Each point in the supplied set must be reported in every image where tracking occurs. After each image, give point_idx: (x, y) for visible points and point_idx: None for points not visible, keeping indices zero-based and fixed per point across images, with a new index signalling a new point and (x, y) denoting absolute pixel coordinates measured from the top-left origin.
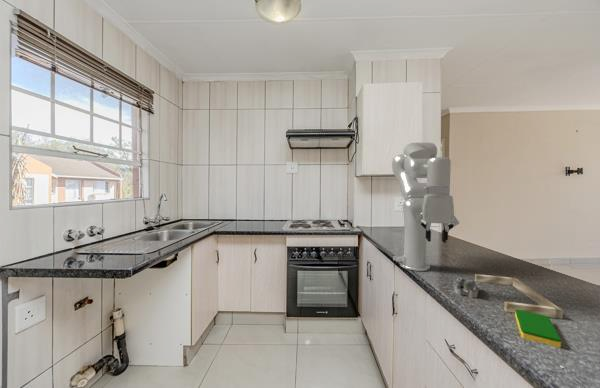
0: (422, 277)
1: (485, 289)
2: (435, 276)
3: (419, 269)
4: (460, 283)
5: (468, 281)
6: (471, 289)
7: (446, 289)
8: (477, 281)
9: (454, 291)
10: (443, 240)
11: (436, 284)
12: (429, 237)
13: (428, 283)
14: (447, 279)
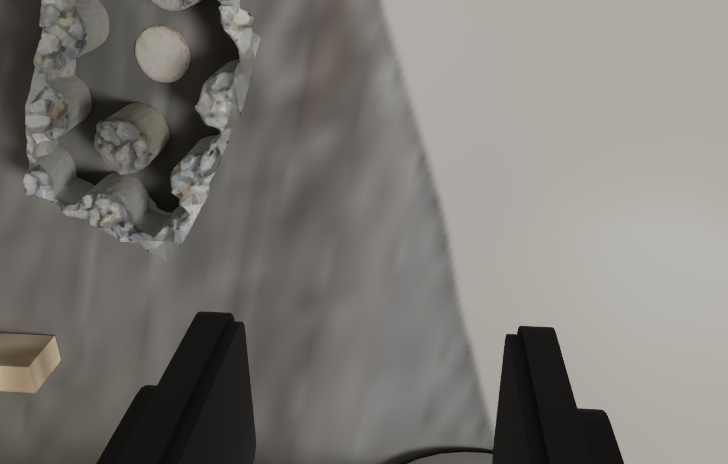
0: (457, 323)
1: (7, 188)
2: (342, 370)
3: (451, 461)
4: (177, 168)
5: (105, 204)
6: None
7: (310, 92)
8: (45, 336)
9: (253, 36)
10: (235, 357)
11: (372, 190)
12: (551, 380)
13: (437, 195)
14: (259, 328)
